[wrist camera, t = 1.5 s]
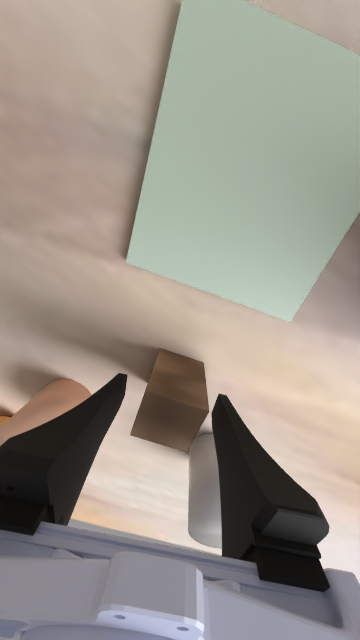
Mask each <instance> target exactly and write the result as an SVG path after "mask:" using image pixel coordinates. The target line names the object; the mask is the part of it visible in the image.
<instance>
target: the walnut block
mask: <svg viewBox="0 0 360 640" xmlns="http://www.w3.org/2000/svg"><path fill="white" fill-rule="evenodd" d="M208 413H209V405H208V396H207V388H206V379H205V370H204V363H203V362H200V361H197V360H194V359H191V358H188V357H185V356H182V355H179V354H176V353H173V352H170V351H167V350H164V349H161V348H160V350H159V353H158V356H157V359H156V361H155V364H154V367H153V370H152V373H151V376H150V379H149V382H148V384H147V387H146V390H145V393H144V396H143V399H142V402H141V405H140V408H139V410H138V413H137V416H136V419H135V422H134V425H133V428H132V431H131V433H130V435H131V436H135V437H138V438H141V439H145V440H148V441H151V442H155V443H158V444H161V445H165V446H168V447H171V448H175V449H178V450H181V451H184V452H187V450H188V448H189V447H190V445H191V443H192V441H193V440H194V438H195V436H196V434H197V432H198V431H199V429H200V427H201V425H202V423H203V422H204V420H205V418H206V416H207V415H208Z"/></svg>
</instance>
